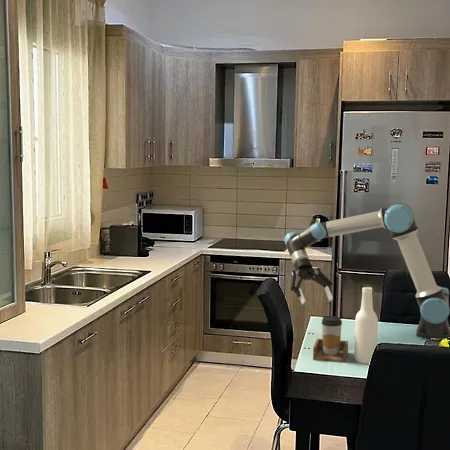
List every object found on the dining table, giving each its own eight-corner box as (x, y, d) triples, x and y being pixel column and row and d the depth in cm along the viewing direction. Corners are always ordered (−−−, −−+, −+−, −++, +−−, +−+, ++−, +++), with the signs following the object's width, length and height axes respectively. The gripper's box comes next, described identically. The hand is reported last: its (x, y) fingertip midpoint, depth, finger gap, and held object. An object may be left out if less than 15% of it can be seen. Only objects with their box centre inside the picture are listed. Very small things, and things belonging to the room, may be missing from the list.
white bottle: (378, 359, 241) (380, 286, 238) (374, 365, 234) (376, 291, 230) (357, 356, 245) (359, 284, 242) (352, 362, 237) (353, 289, 234)
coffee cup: (342, 351, 248) (343, 316, 246) (340, 357, 240) (340, 321, 238) (322, 349, 251) (323, 314, 249) (319, 355, 243) (320, 319, 241)
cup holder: (347, 352, 250) (348, 341, 249) (345, 362, 237) (345, 350, 237) (316, 349, 253) (317, 338, 253) (313, 359, 241) (313, 347, 240)
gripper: (322, 264, 279) (339, 303, 266) (274, 268, 270) (289, 308, 257) (328, 255, 273) (345, 294, 261) (279, 259, 264) (295, 299, 252)
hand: (317, 301), depth 259 cm, fingers open, 13 cm apart
